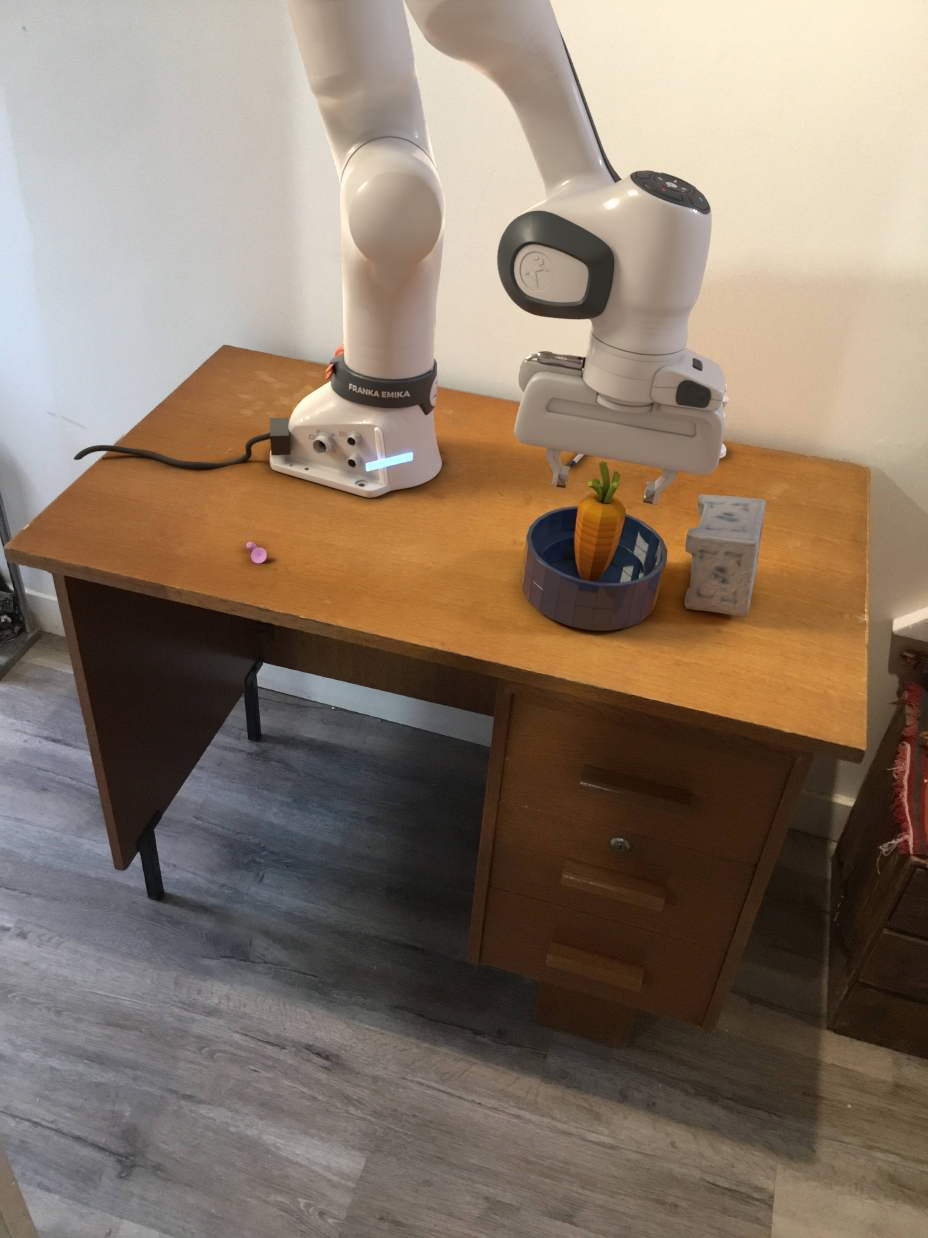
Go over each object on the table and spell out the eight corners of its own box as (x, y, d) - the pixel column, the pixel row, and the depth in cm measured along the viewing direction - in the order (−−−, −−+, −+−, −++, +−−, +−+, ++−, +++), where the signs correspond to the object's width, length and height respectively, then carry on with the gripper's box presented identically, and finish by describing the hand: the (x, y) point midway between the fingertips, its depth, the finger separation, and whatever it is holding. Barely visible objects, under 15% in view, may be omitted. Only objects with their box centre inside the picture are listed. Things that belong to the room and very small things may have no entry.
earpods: (263, 569, 103) (274, 558, 103) (258, 566, 101) (269, 555, 101) (246, 551, 104) (257, 540, 104) (241, 547, 102) (252, 536, 102)
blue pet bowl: (527, 633, 95) (534, 583, 91) (514, 551, 106) (520, 503, 102) (668, 636, 96) (681, 587, 92) (640, 554, 108) (651, 507, 104)
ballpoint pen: (595, 436, 131) (596, 429, 130) (601, 437, 130) (602, 431, 130) (569, 466, 123) (570, 460, 122) (575, 468, 123) (576, 461, 122)
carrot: (608, 604, 99) (632, 484, 89) (562, 596, 99) (582, 476, 90) (611, 578, 102) (635, 460, 93) (568, 570, 103) (587, 452, 94)
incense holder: (682, 560, 107) (702, 483, 101) (753, 577, 105) (778, 500, 99) (667, 607, 100) (688, 527, 93) (744, 627, 98) (770, 547, 91)
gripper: (517, 359, 84) (500, 489, 92) (741, 397, 82) (702, 526, 90) (527, 335, 89) (510, 460, 97) (738, 370, 87) (702, 495, 95)
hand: (604, 492), depth 94 cm, fingers open, 8 cm apart
